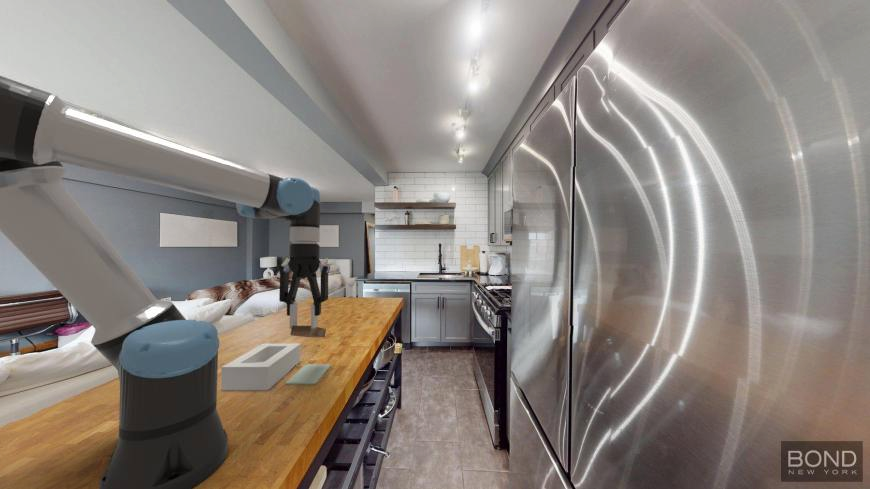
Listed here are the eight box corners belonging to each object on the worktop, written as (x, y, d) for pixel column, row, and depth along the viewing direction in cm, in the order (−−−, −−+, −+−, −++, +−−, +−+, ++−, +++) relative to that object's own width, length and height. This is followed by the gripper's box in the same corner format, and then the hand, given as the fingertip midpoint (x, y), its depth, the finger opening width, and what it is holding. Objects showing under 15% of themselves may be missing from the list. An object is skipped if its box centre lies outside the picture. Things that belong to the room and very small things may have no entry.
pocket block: (268, 390, 72) (268, 366, 72) (221, 390, 71) (221, 367, 71) (300, 362, 90) (300, 343, 90) (262, 362, 89) (263, 343, 89)
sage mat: (315, 384, 75) (315, 382, 75) (285, 384, 75) (285, 382, 75) (331, 365, 87) (331, 364, 87) (305, 365, 87) (305, 364, 87)
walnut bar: (309, 335, 74) (310, 325, 75) (290, 335, 74) (292, 325, 75) (324, 337, 85) (325, 328, 86) (308, 337, 85) (309, 328, 86)
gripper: (341, 243, 81) (341, 323, 80) (279, 243, 80) (278, 323, 80) (332, 243, 73) (332, 331, 73) (264, 242, 73) (262, 331, 72)
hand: (303, 327), depth 76 cm, fingers closed on walnut bar, 5 cm apart
